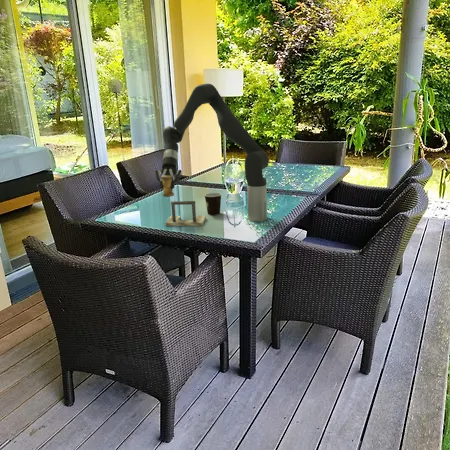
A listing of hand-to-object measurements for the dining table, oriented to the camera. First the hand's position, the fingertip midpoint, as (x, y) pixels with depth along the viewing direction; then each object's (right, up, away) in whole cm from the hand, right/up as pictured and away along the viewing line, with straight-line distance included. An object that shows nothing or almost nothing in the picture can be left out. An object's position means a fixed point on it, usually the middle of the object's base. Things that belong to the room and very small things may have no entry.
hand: (166, 188), depth 220 cm
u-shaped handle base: (+10, -17, -2) cm, 20 cm away
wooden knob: (0, -3, +3) cm, 5 cm away
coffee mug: (+23, -13, +9) cm, 28 cm away
